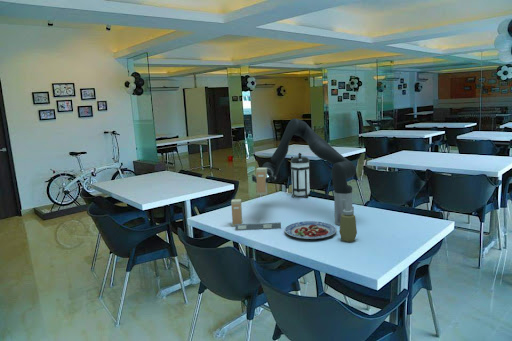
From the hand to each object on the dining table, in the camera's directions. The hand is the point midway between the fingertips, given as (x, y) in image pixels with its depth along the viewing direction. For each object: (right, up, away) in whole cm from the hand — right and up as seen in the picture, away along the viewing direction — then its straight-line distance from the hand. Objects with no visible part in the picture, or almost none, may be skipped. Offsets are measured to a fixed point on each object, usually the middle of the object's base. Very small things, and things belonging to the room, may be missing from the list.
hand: (261, 180), depth 211 cm
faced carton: (-13, -24, +6) cm, 28 cm away
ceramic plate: (+25, -26, -12) cm, 38 cm away
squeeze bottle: (+41, -27, -24) cm, 55 cm away
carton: (+1, -7, +4) cm, 8 cm away
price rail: (-2, -25, -3) cm, 25 cm away
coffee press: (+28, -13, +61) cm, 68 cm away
